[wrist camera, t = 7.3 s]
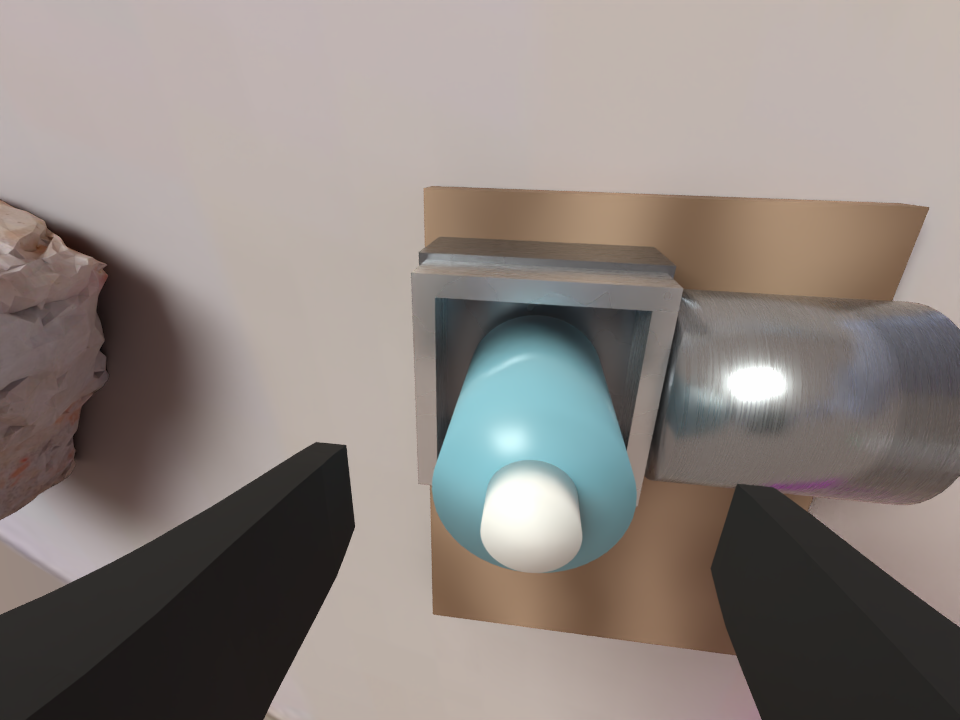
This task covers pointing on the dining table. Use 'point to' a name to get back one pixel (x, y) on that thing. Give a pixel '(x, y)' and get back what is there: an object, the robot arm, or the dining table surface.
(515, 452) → the blue bottle white cap
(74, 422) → the food item
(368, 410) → the dining table surface
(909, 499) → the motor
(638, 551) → the mounting board
